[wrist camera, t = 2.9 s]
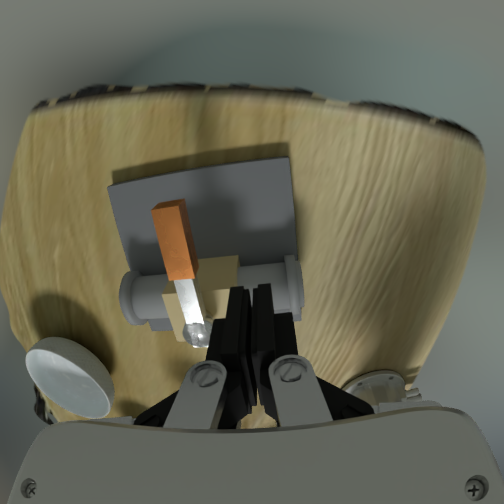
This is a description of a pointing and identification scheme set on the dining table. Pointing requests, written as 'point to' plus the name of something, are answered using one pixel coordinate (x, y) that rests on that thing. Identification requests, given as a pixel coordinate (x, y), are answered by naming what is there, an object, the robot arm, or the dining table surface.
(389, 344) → the dining table surface
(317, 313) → the dining table surface
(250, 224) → the valve board
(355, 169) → the dining table surface
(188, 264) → the valve lever
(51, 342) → the cereal bowl
